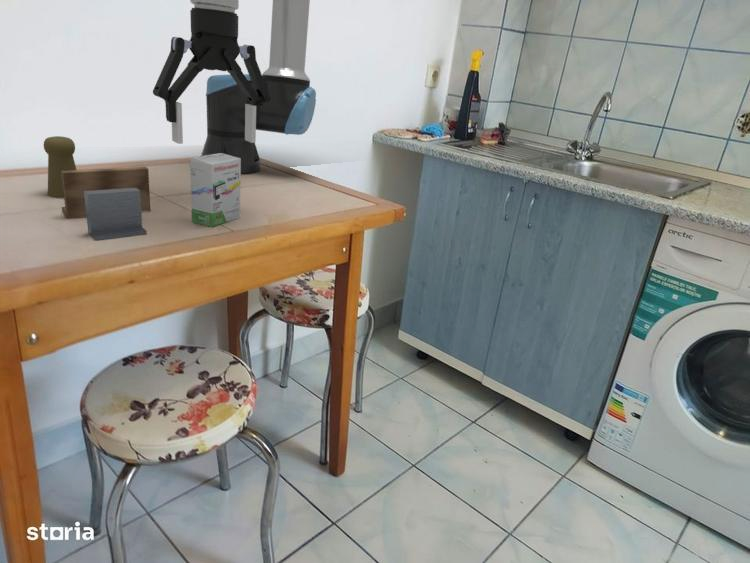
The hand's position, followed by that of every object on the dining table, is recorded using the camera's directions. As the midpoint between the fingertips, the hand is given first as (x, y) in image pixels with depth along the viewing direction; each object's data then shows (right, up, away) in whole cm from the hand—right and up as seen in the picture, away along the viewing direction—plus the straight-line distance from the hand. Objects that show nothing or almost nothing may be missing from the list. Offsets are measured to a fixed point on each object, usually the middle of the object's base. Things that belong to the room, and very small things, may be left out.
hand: (215, 142), depth 96 cm
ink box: (-2, -13, +6) cm, 15 cm away
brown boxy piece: (-21, -12, +4) cm, 24 cm away
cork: (-33, -8, +11) cm, 35 cm away
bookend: (-15, -16, -5) cm, 23 cm away
